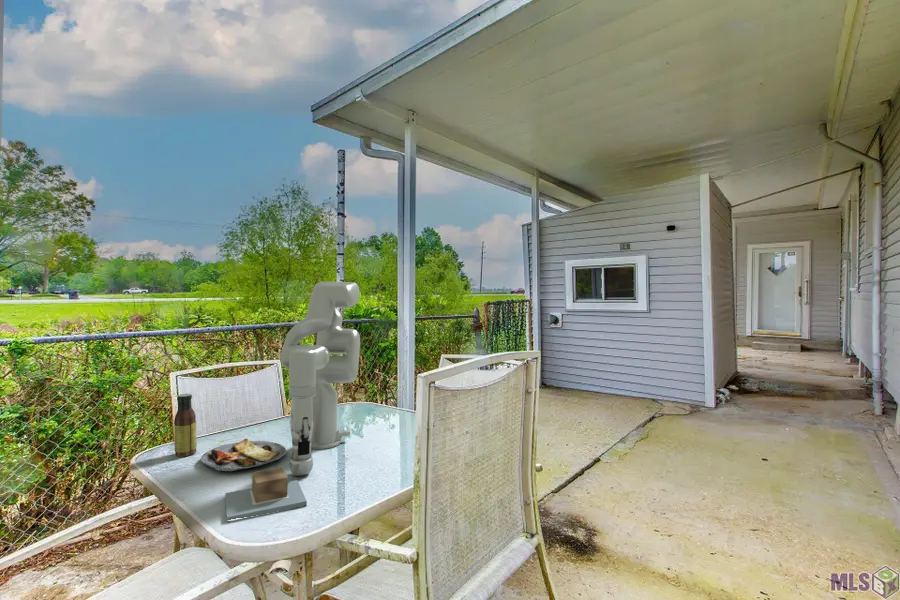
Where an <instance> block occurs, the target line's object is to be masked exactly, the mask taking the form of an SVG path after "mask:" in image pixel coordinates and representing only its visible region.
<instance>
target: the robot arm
mask: <svg viewBox="0 0 900 600" xmlns="http://www.w3.org/2000/svg"><path fill="white" fill-rule="evenodd" d="M312 288H313V289H312V292H311V295H310V299H309V302H308V305H307V306H308V307H307V311H306V314H305V318H303V319H302V320H299V322H297V323H296V324H295V325H294V326H293V327H292V328H291V329H289V331H288V332H287V334H286V336H285V338H284V342H283V345H282V350H281V355H280V362H281V365H282V366H283V367H284V368H285V369H288V370H289V371H288V372H289V374H288V377H289V378H288V379H289V381H288V382H289V383H288V386H289V387H288V397H289V398H291V402H290V405H291V406H290V416H289V417H290V418H289V424H290V425H291V422H292V423H293V431H294V432H295V433H297V432H298V431H299V442H298V455H299V456H301V455H307V454H309V453H310V437H309V431H310V430H311V429H312V422H313V429H312V436H311V449H313V450H323V449H325V448H326V449H330V448H335V447H337V446H339V445H340V444H341V443H342V437H350V436H351V431H350V429H349V430H345V429H340V430H339V429H338V402H339V401H338V391H337V390H336V388H335V387H334V385H333V384H334V383H336V384H337V383H338V384H341V383H343V384H345V383H346V384H348V383H353V382H356V380H357V378H358V374H359V373H358V372H359V363H360V351H361V335H360V332H359V331H358V330H356V329H354V328H342V326H343V317H342V315H341V313H340V312H339V310H338V309H337V308H339V309H340V308H342V309H344V308H345V309H346V308H347V309H348V308H349V309H350V308H352V307H353V306H356V304H357V303H358V302H359V300H360V294H361V293H360V287H359V285H358V284H357V283H356V282H352V281H350V282H349V281H348V282H347V281H319V282H317V283H316V284H314V286H313V287H312ZM314 334H316V341H315V342H316V343H315V344H312V345H311V344H298V343H299V342H301V341H302V340H304V339H305V338H307V337H309V336H312V335H314ZM331 354H332V355H331ZM290 425H289V426H290ZM309 427H310V428H309ZM301 428H303V431H301ZM301 433H303V434H302V436H301Z"/></svg>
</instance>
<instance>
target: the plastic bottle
mask: <svg viewBox="0 0 900 600" xmlns="http://www.w3.org/2000/svg"><path fill="white" fill-rule="evenodd" d="M289 427H290V434H291V435H290V436H291V449H292V450H291V459H290V463H289V470H290V472H291V474H292V475H293V476H297V477H299V476H306V475H308V474H310V473H311V471H312V470H313V466H314V460H313V456H312V448H311V436H312V429H313V422H312V429H311V430H310V431H309V437H310V453H309V454H307V455H301V456H299V455H298V442H299V431H298V432H297V433H295V432H294V431H293V423H292V422H291V425H289ZM309 428H310V427H309ZM301 431H303V428H301ZM302 434H303V433H301V436H302Z"/></svg>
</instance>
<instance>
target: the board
mask: <svg viewBox="0 0 900 600" xmlns="http://www.w3.org/2000/svg"><path fill="white" fill-rule="evenodd" d="M224 497H225V499H224V500H225V513H226V514H225V516H227V518H226V521H227V520H231V519H236V518H244V517H251V516H256V515H260V516H263V515H262V514H265V515H268V514H267V513H270V514H273V512H275V513H279V512H283V510H284V511H288V510H287V509H289V510H292V509H291V508H294V509H296V508H295V507H299V508H301V507H300V506H303V507H305V506H304V505H307V506H308V503H307V502H308V500H307V499H306V496H305V494H304V492H303V490H302V487H301V485H300V483H299V481H298V479H296V480H290V481H289V480H288V491H287V497H283V498H278V499H273V500H269V501H264V502H259V503H256V502H255V499H254V496H253V493H252V487H251V488H246V489H245V488H244V489H239V490H236V491H235V490H234V491H228V492H225V495H224ZM277 511H278V512H277ZM256 517H257V516H256ZM251 518H252V517H251Z"/></svg>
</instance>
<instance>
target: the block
mask: <svg viewBox="0 0 900 600" xmlns="http://www.w3.org/2000/svg"><path fill="white" fill-rule="evenodd" d="M251 474H252V475H251V478H252V479H251V482H252V484H251V488H252V493H253V496H254V499H255V502H256V503H259V502H264V501H269V500H273V499H278V498H283V497H287V491H288V482H289V478H288V474H287V473H286V472H285V469H284V467H283V466H282V467H274V468H270V469H265V470H260V471H254V472H252V473H251Z"/></svg>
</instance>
